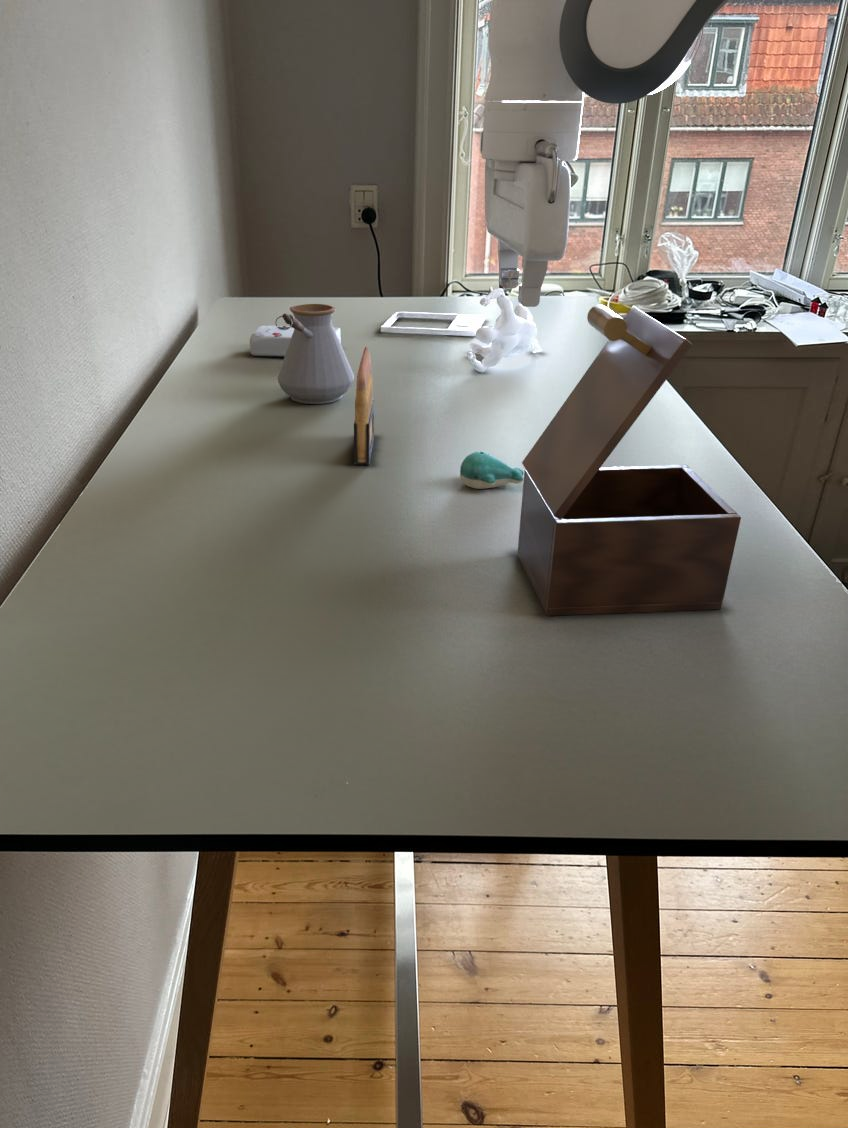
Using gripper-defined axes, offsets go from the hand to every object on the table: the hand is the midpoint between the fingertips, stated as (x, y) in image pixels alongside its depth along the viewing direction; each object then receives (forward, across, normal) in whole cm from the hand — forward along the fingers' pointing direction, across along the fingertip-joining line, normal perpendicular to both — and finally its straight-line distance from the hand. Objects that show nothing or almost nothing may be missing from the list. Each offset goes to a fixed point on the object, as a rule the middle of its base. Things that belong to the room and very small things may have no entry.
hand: (517, 295), depth 92 cm
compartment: (+22, -20, -7) cm, 30 cm away
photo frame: (+22, +89, -4) cm, 91 cm away
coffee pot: (+22, +38, +21) cm, 49 cm away
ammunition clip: (+22, +18, +14) cm, 32 cm away
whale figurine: (+22, +5, 0) cm, 22 cm away
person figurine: (+22, +59, -12) cm, 64 cm away
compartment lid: (+6, -20, -3) cm, 21 cm away
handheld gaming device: (+22, +70, +23) cm, 77 cm away
